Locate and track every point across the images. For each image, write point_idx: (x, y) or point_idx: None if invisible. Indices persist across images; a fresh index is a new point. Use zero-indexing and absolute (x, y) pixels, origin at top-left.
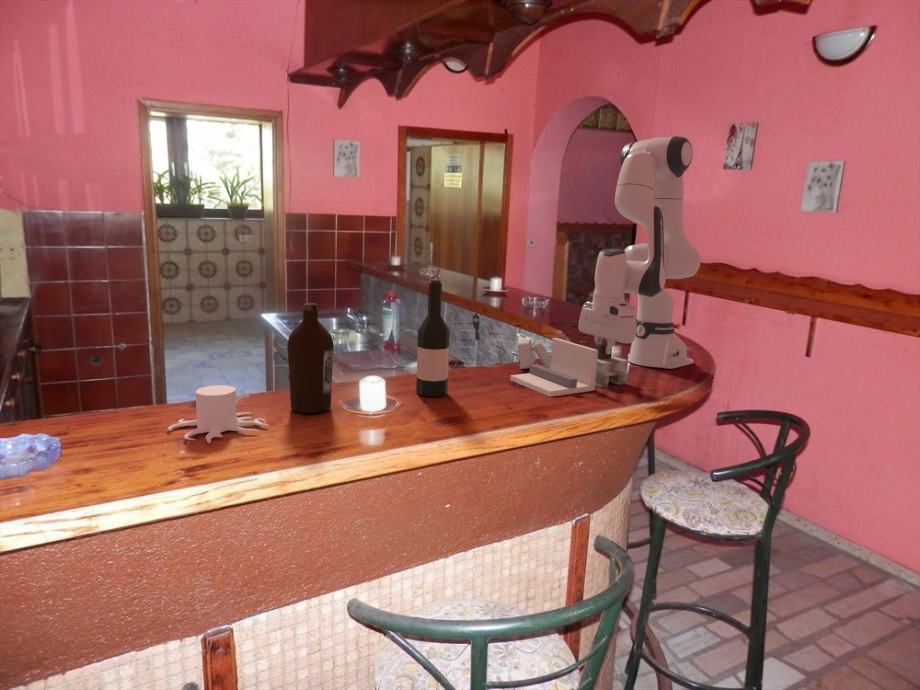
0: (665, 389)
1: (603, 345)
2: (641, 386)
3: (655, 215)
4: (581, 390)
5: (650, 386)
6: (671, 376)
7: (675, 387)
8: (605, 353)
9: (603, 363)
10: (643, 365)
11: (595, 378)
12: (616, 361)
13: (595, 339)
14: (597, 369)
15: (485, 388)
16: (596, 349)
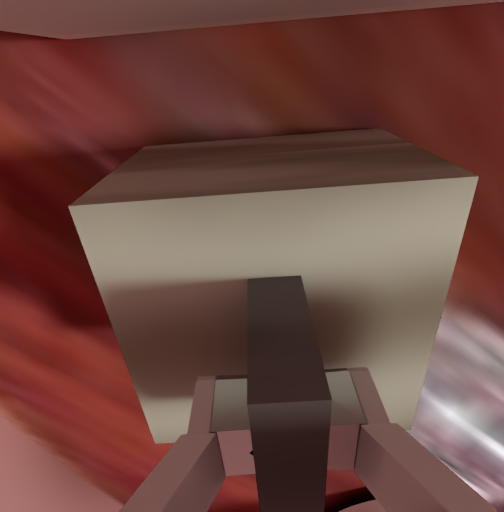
0: (64, 403)
1: (255, 452)
2: None
3: None
4: None
5: (117, 383)
6: (232, 499)
7: (90, 443)
8: (226, 375)
9: (74, 220)
10: (363, 503)
11: (8, 30)
12: (131, 365)
13: (461, 507)
14: (158, 175)
15: None
16: (305, 346)
